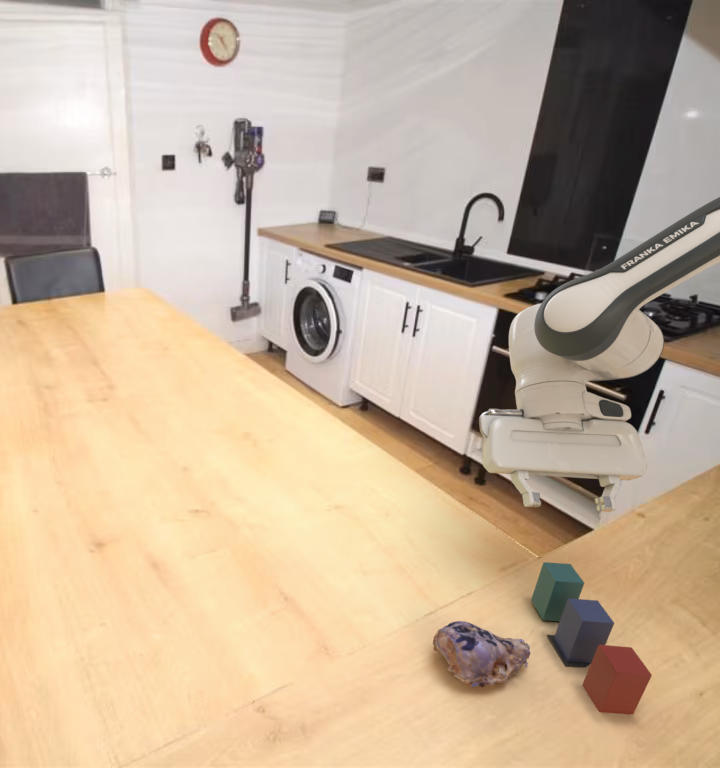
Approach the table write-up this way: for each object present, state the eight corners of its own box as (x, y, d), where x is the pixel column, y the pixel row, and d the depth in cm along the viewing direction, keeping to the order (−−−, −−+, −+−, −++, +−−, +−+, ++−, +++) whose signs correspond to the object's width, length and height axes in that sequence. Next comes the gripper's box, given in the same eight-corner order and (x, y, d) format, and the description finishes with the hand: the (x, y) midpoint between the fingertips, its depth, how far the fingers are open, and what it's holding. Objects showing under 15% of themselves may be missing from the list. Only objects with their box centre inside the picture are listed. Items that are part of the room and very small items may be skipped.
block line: (561, 602, 77) (575, 564, 74) (637, 719, 61) (658, 675, 58) (526, 599, 77) (538, 561, 74) (592, 714, 61) (611, 671, 59)
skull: (513, 639, 71) (525, 606, 68) (545, 696, 64) (560, 663, 61) (421, 639, 71) (429, 606, 68) (443, 696, 64) (453, 663, 61)
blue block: (582, 640, 71) (598, 600, 68) (597, 664, 67) (614, 623, 64) (553, 638, 71) (567, 597, 68) (567, 662, 68) (583, 620, 65)
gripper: (486, 400, 75) (498, 500, 70) (642, 407, 74) (666, 510, 69) (469, 414, 81) (479, 507, 76) (613, 421, 79) (633, 517, 74)
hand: (569, 508), depth 72 cm, fingers open, 8 cm apart
